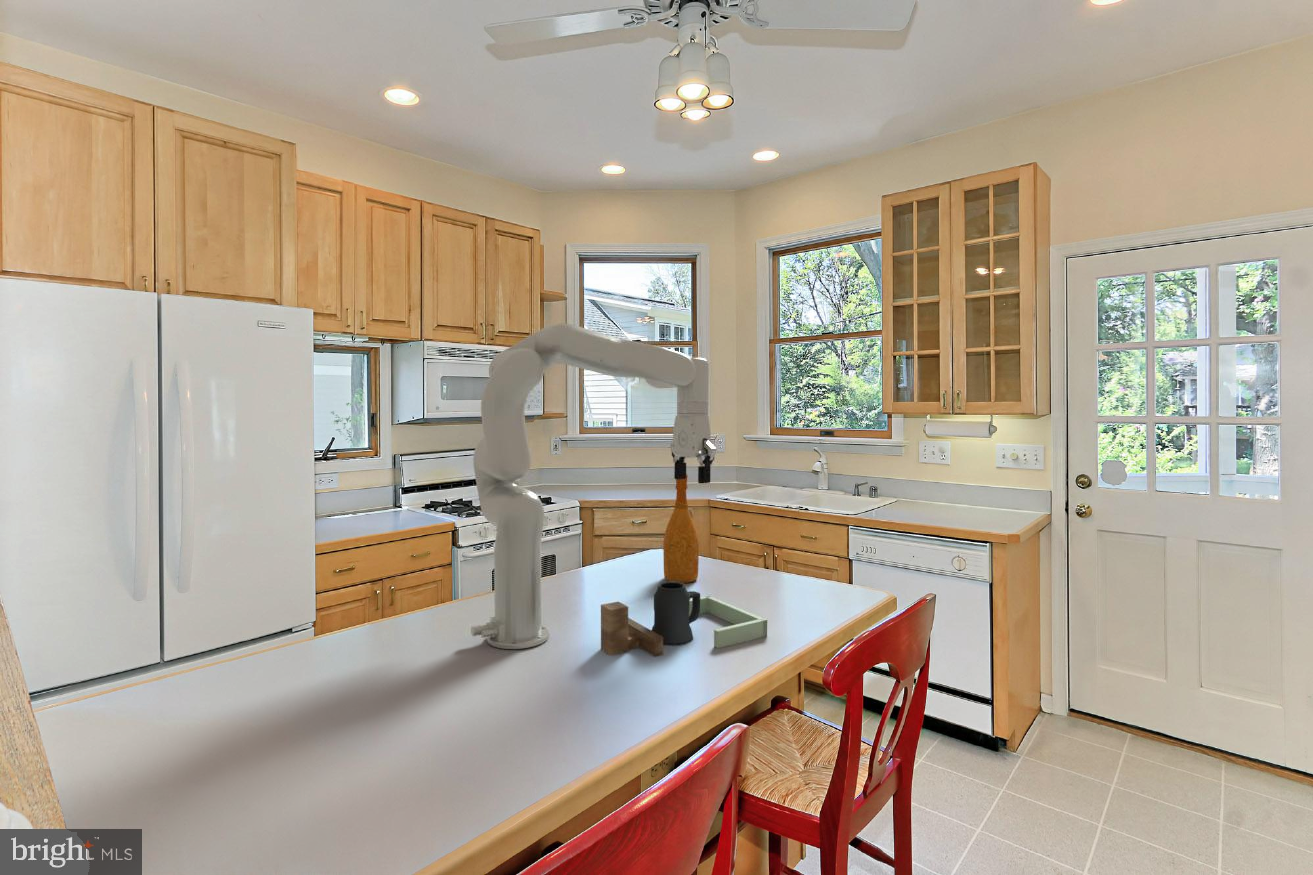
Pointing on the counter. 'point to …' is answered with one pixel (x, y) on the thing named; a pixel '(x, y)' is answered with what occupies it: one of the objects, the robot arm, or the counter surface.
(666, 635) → the mug
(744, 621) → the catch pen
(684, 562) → the wine bottle
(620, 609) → the wooden cross block
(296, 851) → the counter surface
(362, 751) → the counter surface
